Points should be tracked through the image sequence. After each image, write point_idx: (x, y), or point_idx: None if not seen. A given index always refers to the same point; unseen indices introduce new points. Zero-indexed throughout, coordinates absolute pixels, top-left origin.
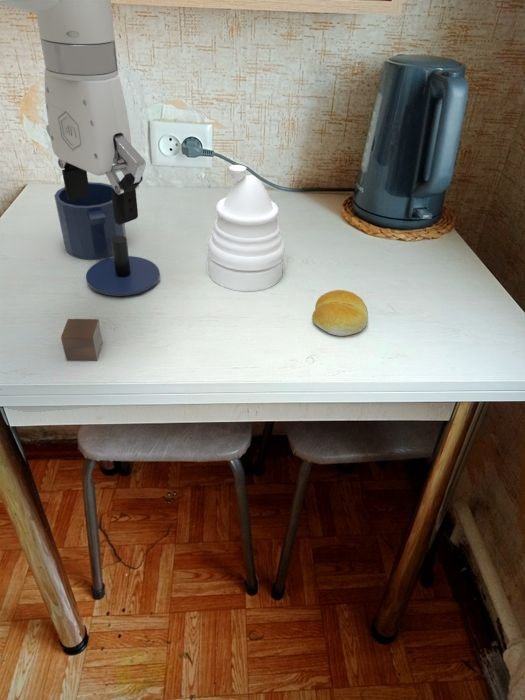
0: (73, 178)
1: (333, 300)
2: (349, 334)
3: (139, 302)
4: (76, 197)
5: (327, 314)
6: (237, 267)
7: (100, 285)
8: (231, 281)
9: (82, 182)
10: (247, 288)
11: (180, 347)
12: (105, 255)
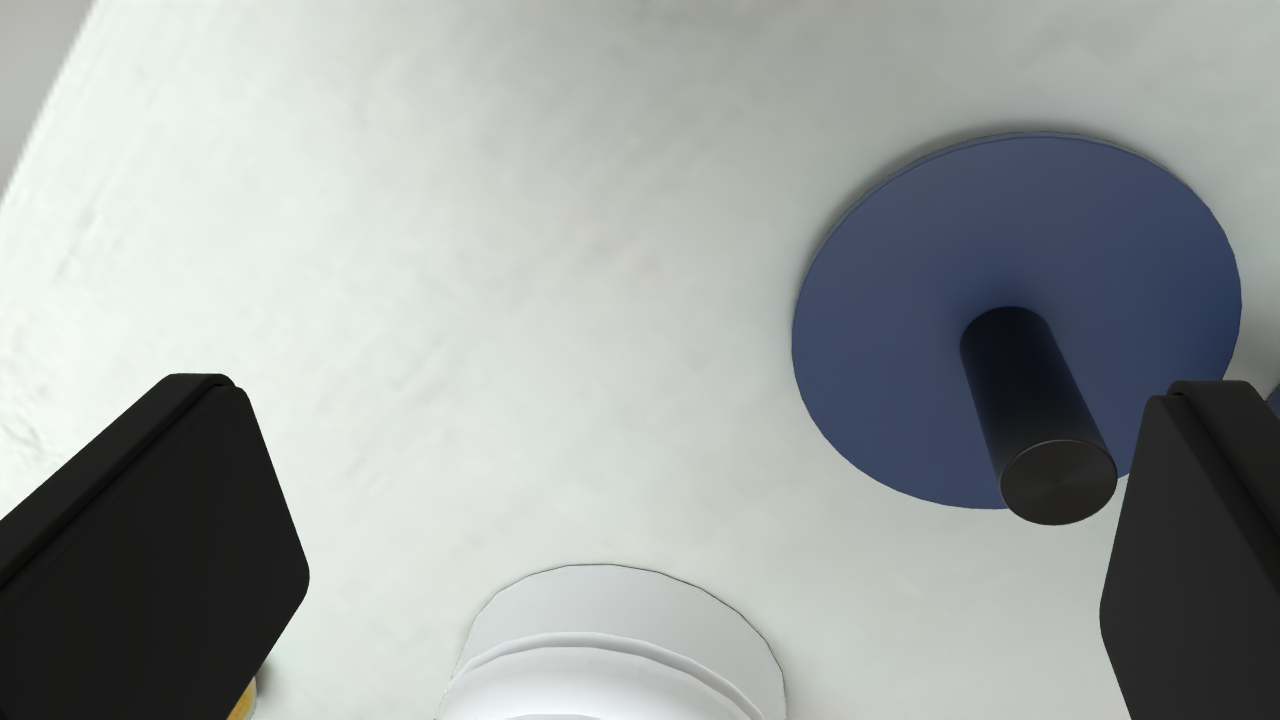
0: (1250, 702)
1: None
2: None
3: (752, 245)
4: (1138, 471)
5: None
6: (497, 667)
7: (1011, 179)
8: (540, 599)
9: (1172, 718)
10: (492, 605)
11: (316, 146)
12: (1278, 405)
